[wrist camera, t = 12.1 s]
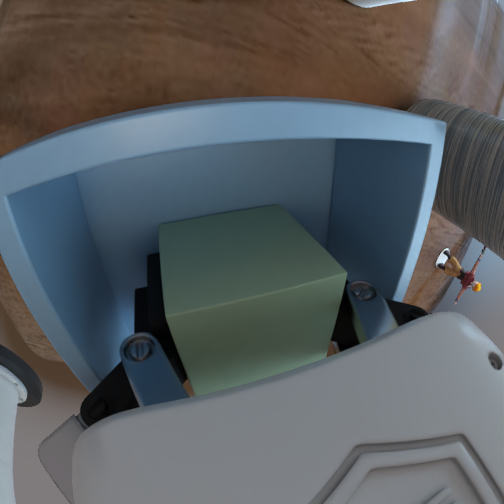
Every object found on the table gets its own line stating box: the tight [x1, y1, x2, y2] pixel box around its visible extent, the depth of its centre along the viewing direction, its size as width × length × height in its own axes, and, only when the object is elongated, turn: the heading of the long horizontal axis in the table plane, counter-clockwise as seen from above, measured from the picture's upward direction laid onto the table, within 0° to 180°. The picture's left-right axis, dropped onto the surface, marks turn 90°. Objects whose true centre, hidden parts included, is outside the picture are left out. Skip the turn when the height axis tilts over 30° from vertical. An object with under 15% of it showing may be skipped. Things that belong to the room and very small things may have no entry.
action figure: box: [436, 246, 487, 304], centre depth 35 cm, size 12×3×9 cm, turn 167°
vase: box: [406, 99, 504, 260], centre depth 16 cm, size 12×12×23 cm
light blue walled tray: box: [0, 96, 446, 393], centre depth 14 cm, size 17×26×6 cm, turn 1°
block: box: [158, 205, 347, 396], centre depth 10 cm, size 5×5×5 cm
